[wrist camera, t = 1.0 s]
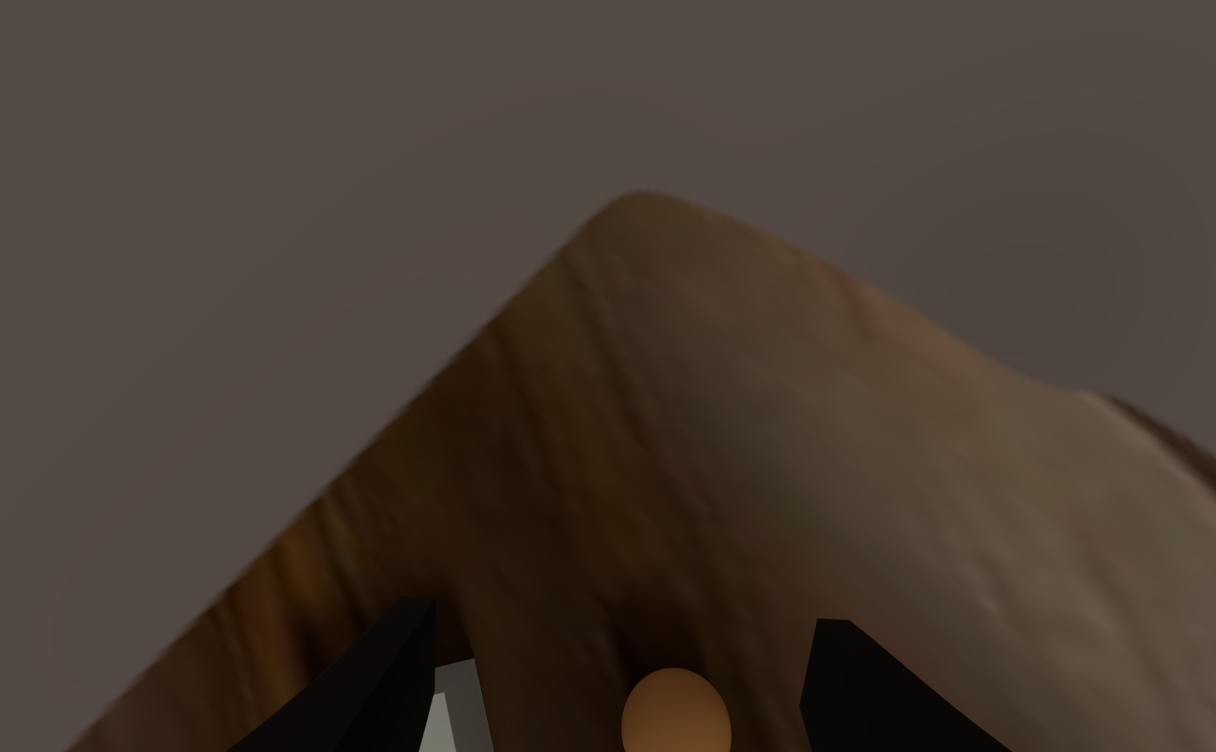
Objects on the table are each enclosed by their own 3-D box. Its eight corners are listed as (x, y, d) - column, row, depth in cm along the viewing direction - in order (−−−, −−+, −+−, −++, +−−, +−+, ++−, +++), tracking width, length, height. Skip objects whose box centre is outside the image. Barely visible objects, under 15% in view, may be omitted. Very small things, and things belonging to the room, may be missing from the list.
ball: (699, 778, 29) (708, 845, 24) (608, 728, 30) (598, 783, 25) (740, 682, 29) (758, 729, 24) (649, 635, 30) (648, 671, 25)
